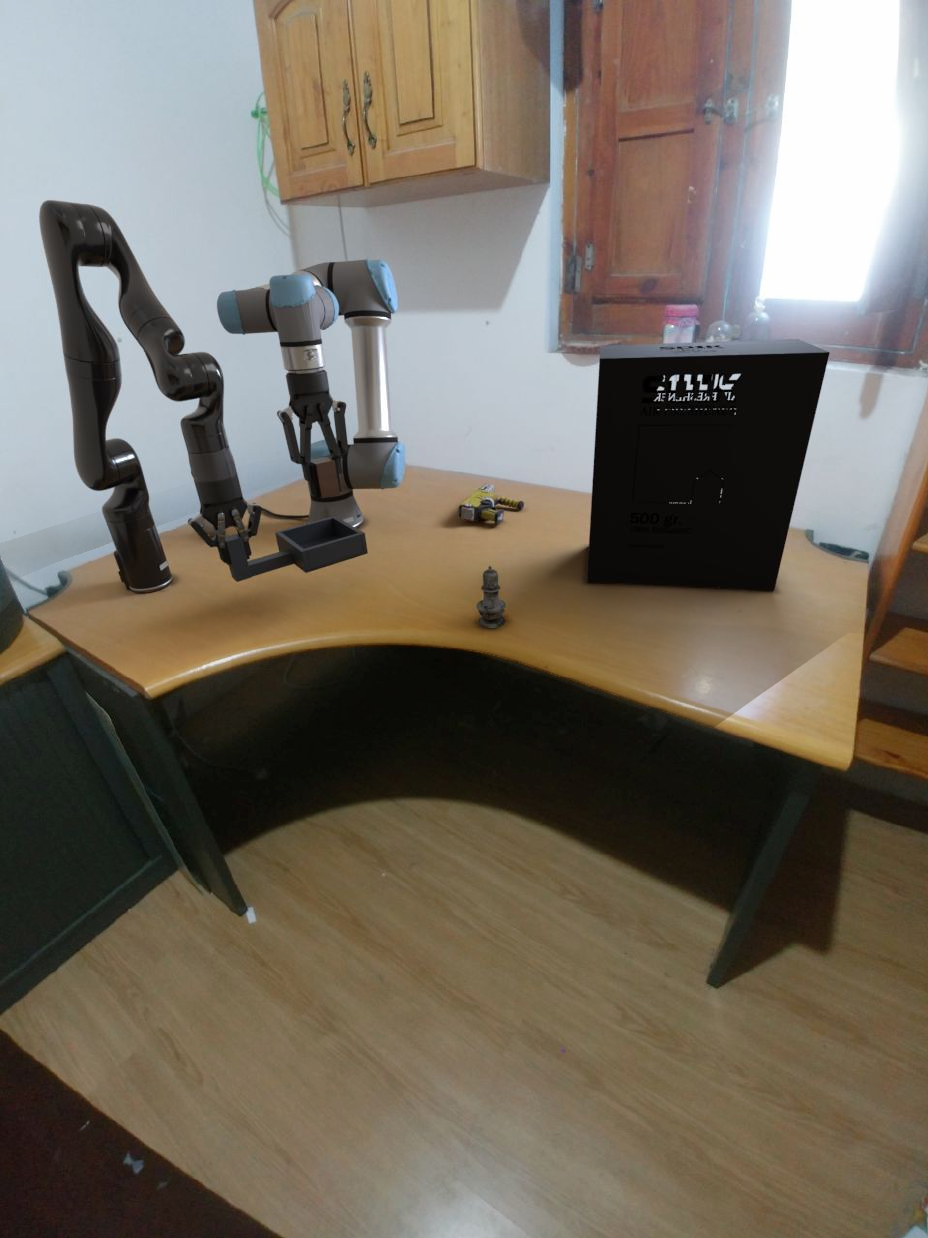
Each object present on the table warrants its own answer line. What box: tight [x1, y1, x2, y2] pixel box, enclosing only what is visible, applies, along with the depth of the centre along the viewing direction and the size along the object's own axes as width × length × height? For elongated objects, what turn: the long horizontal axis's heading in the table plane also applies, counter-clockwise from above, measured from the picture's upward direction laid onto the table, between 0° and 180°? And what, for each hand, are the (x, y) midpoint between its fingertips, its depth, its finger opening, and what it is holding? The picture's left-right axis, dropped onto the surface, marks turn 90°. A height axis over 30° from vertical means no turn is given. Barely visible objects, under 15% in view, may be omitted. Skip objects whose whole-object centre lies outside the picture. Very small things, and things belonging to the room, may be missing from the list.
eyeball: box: [203, 519, 215, 537], centre depth 166 cm, size 6×6×6 cm
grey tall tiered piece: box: [475, 565, 507, 629], centre depth 116 cm, size 6×6×12 cm
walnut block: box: [311, 457, 340, 499], centre depth 121 cm, size 4×4×7 cm
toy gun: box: [457, 482, 525, 525], centre depth 171 cm, size 5×24×15 cm
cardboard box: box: [586, 338, 831, 592], centre depth 124 cm, size 38×20×45 cm, turn 78°
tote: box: [225, 516, 369, 583], centre depth 123 cm, size 26×14×8 cm, turn 127°
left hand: (237, 560), depth 117 cm, fingers closed on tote, 3 cm apart
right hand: (326, 492), depth 123 cm, fingers closed on walnut block, 4 cm apart
